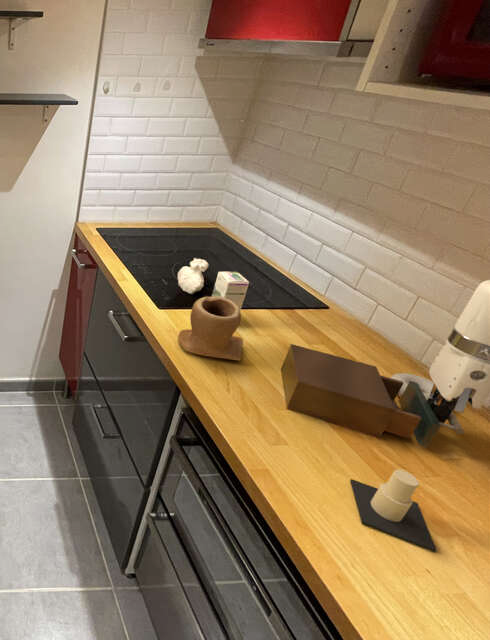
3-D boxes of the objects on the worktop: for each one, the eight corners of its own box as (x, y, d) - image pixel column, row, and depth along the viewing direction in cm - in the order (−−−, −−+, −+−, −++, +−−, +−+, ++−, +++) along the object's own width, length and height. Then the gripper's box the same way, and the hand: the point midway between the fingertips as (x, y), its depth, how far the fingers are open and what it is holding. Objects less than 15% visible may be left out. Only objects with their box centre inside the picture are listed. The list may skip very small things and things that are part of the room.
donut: (391, 402, 99) (454, 420, 94) (397, 390, 97) (461, 408, 92) (381, 376, 106) (438, 391, 102) (387, 364, 105) (445, 379, 100)
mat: (415, 505, 76) (417, 502, 76) (435, 552, 69) (436, 550, 69) (349, 481, 80) (351, 478, 80) (361, 523, 73) (363, 521, 73)
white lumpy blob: (196, 303, 138) (226, 279, 134) (180, 290, 136) (210, 265, 133) (180, 284, 149) (207, 261, 145) (165, 271, 147) (192, 248, 144)
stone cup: (180, 359, 110) (195, 308, 104) (175, 332, 121) (188, 284, 115) (249, 373, 106) (269, 321, 100) (238, 344, 116) (254, 295, 110)
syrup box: (236, 327, 123) (251, 281, 117) (214, 326, 124) (228, 281, 118) (225, 315, 129) (239, 271, 123) (205, 315, 129) (217, 270, 123)
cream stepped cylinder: (397, 506, 75) (418, 473, 72) (405, 526, 72) (427, 493, 69) (367, 495, 77) (386, 462, 74) (373, 514, 74) (393, 481, 71)
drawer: (435, 412, 95) (448, 391, 92) (461, 458, 84) (477, 436, 82) (323, 379, 103) (332, 359, 101) (334, 418, 93) (344, 397, 90)
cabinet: (362, 393, 101) (376, 366, 98) (379, 438, 89) (395, 409, 86) (280, 369, 108) (290, 343, 105) (286, 408, 96) (298, 381, 93)
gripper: (528, 375, 75) (473, 453, 82) (487, 329, 86) (442, 401, 94) (467, 360, 78) (419, 436, 86) (435, 318, 90) (396, 388, 97)
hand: (431, 417), depth 90 cm, fingers closed
